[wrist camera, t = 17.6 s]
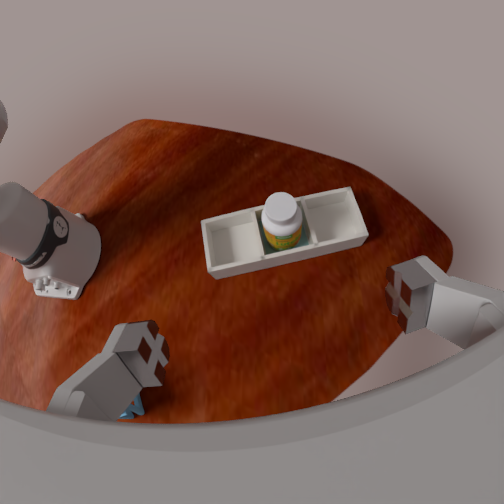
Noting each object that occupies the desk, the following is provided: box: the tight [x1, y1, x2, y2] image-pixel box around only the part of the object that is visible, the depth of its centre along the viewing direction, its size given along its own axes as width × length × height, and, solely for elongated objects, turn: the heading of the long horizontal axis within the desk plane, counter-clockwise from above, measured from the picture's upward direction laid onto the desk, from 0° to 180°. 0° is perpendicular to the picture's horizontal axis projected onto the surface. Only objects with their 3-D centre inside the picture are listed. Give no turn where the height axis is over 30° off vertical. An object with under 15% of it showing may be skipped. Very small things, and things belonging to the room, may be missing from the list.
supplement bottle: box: [261, 192, 302, 251], centre depth 37 cm, size 5×5×10 cm
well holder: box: [201, 187, 368, 279], centre depth 41 cm, size 23×8×4 cm, turn 101°
